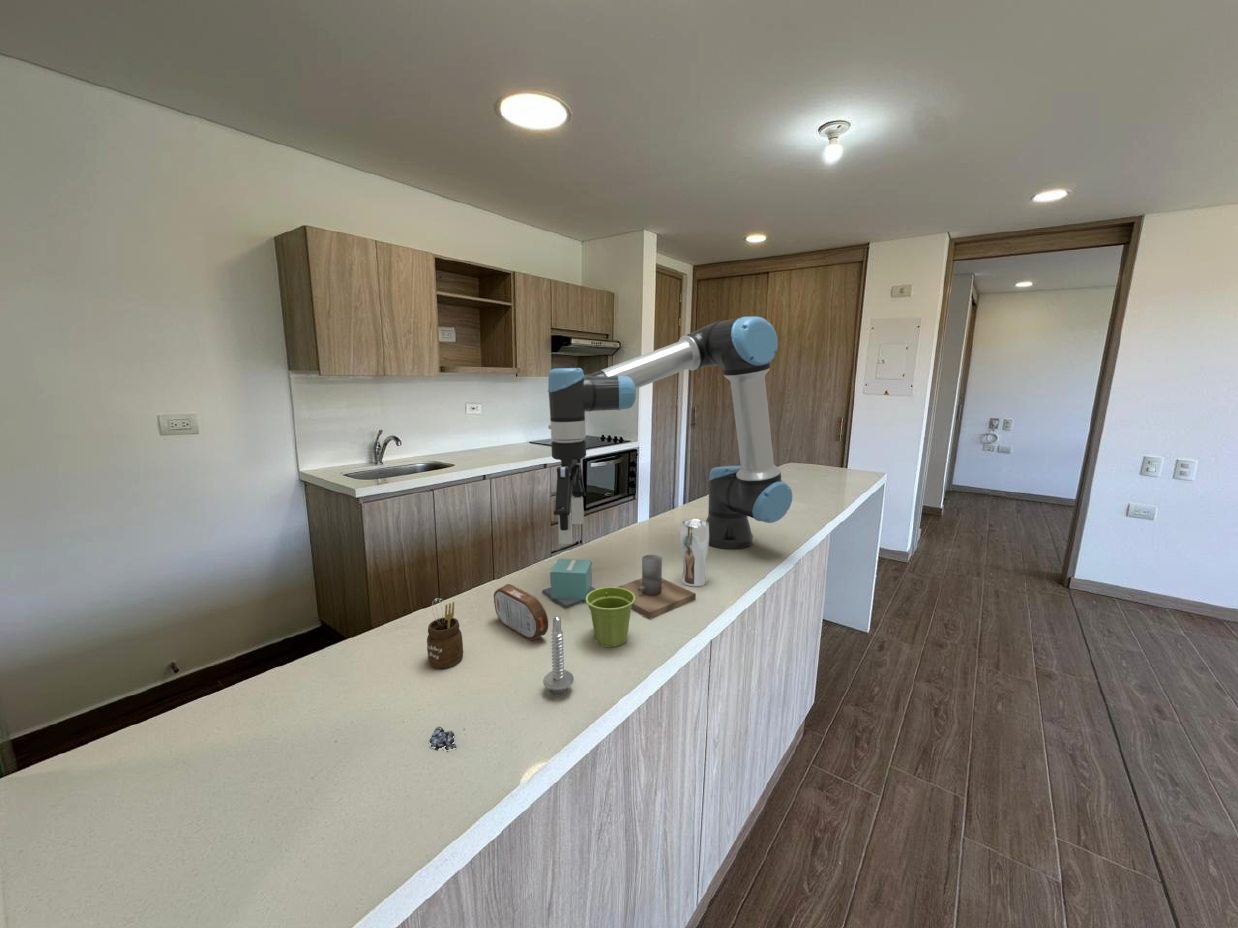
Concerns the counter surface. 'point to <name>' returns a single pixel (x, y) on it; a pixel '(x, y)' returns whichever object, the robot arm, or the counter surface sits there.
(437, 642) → the utensil holder
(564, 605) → the mat
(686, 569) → the beer glass
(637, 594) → the brown square stand
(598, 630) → the plant pot
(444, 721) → the counter surface
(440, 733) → the grey irregular lump
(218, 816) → the counter surface
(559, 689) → the screw
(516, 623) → the tin
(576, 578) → the striped light blue box
